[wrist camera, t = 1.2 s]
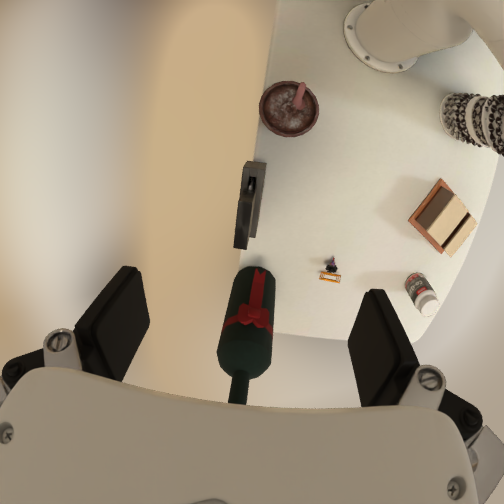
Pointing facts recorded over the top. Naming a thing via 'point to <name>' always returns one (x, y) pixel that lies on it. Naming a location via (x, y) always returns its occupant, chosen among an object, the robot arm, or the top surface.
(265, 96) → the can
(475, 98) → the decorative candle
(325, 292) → the top surface
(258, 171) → the knife block
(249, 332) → the wine bottle
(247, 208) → the knife
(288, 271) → the top surface
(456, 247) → the slice
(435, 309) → the pill bottle
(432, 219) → the slotted block stand
